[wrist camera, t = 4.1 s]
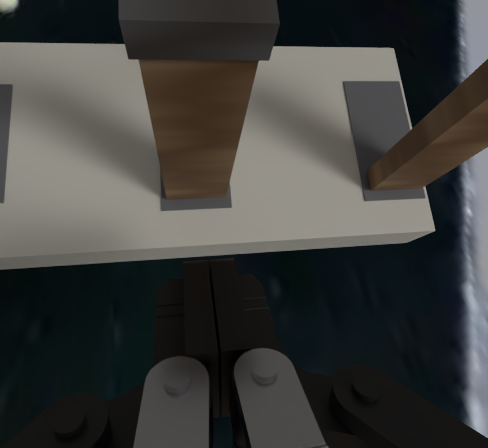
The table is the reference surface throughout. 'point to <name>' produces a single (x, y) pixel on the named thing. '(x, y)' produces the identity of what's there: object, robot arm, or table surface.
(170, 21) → the middle paddle
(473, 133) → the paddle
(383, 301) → the table surface
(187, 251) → the switch panel
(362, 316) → the table surface
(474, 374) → the table surface
